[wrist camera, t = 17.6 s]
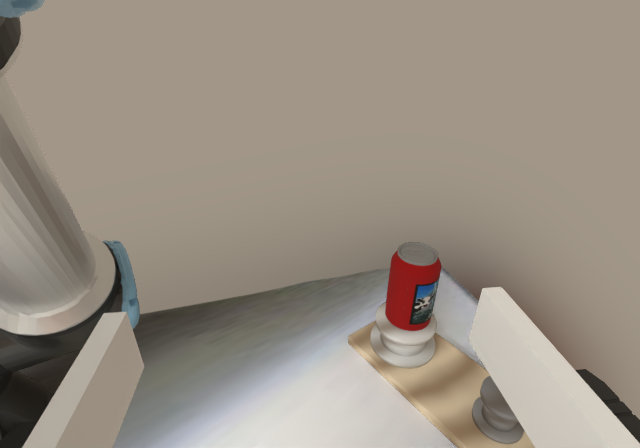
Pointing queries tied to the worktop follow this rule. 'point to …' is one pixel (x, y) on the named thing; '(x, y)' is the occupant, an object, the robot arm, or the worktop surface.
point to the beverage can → (412, 286)
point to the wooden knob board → (441, 384)
